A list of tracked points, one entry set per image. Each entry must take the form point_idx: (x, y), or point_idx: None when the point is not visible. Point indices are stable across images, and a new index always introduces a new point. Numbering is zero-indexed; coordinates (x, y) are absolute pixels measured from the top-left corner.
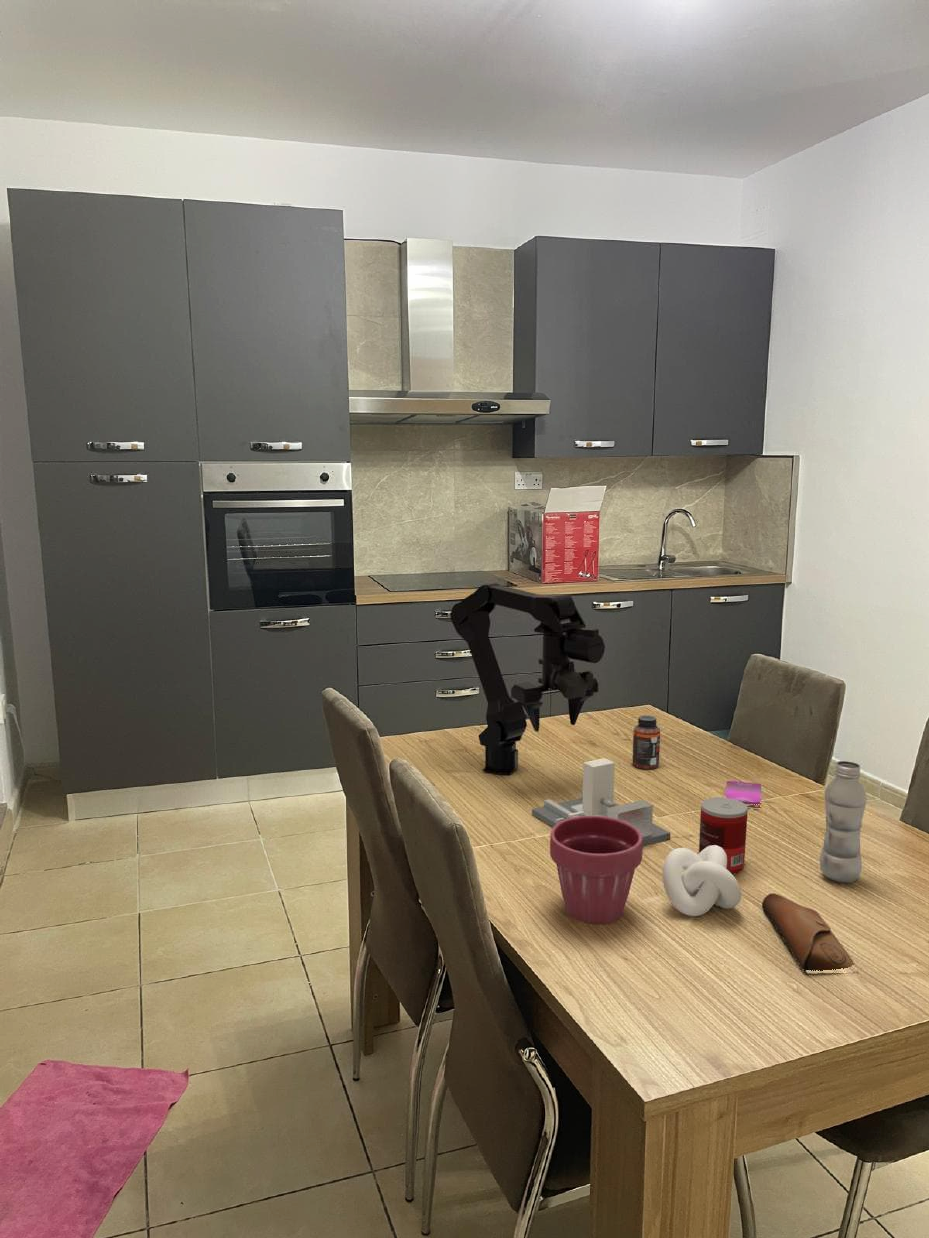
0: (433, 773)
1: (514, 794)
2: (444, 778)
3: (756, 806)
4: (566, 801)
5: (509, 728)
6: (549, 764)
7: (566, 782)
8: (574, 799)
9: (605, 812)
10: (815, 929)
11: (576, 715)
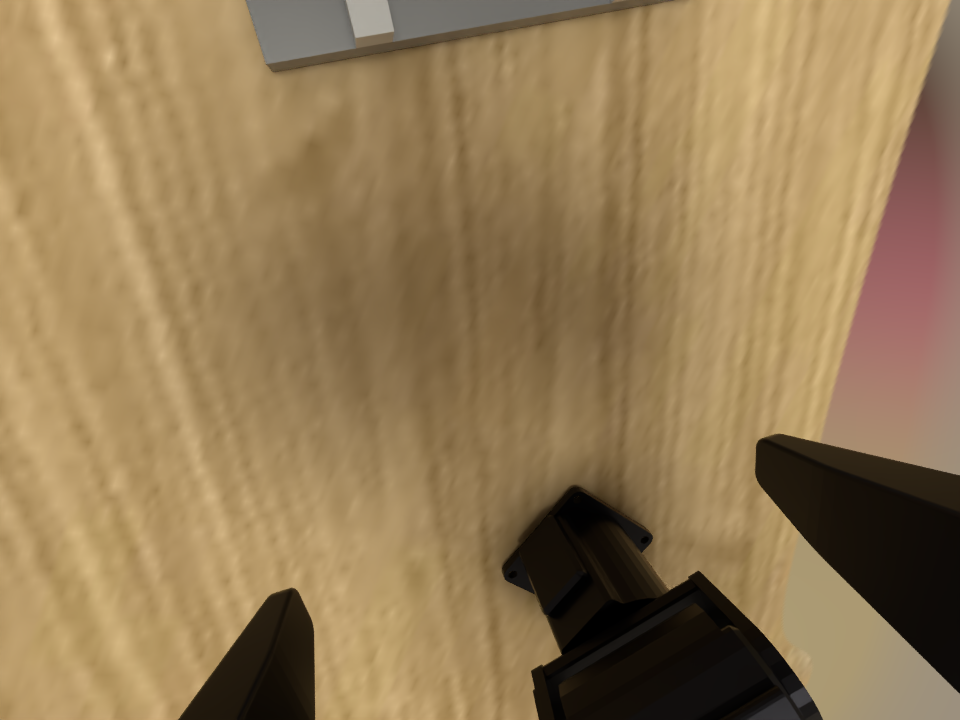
0: (791, 539)
1: (645, 282)
2: None
3: None
4: (500, 14)
5: (730, 664)
6: (361, 579)
7: (361, 366)
8: (442, 29)
9: None
10: None
11: (221, 710)
